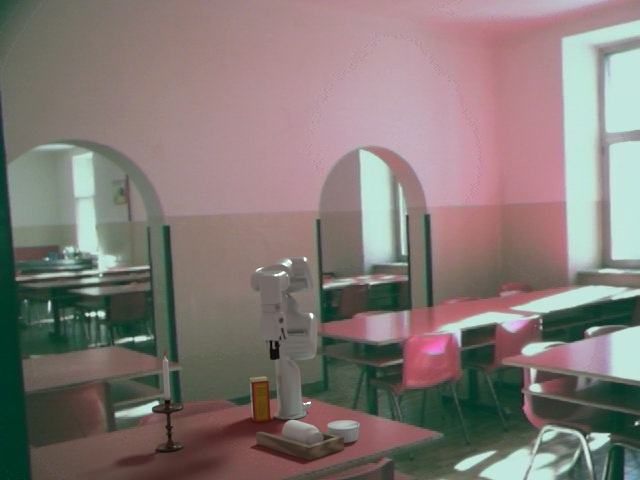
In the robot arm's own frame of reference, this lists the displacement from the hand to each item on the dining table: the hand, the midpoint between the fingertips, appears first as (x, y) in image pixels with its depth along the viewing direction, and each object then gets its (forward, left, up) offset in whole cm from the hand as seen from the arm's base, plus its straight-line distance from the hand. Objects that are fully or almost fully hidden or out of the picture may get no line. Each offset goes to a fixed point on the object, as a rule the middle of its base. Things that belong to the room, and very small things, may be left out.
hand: (274, 359), depth 255 cm
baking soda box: (-9, -23, -27) cm, 37 cm away
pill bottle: (+3, +11, -23) cm, 26 cm away
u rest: (+5, +17, -27) cm, 32 cm away
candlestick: (+34, -18, -27) cm, 47 cm away
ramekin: (-10, +23, -28) cm, 37 cm away
